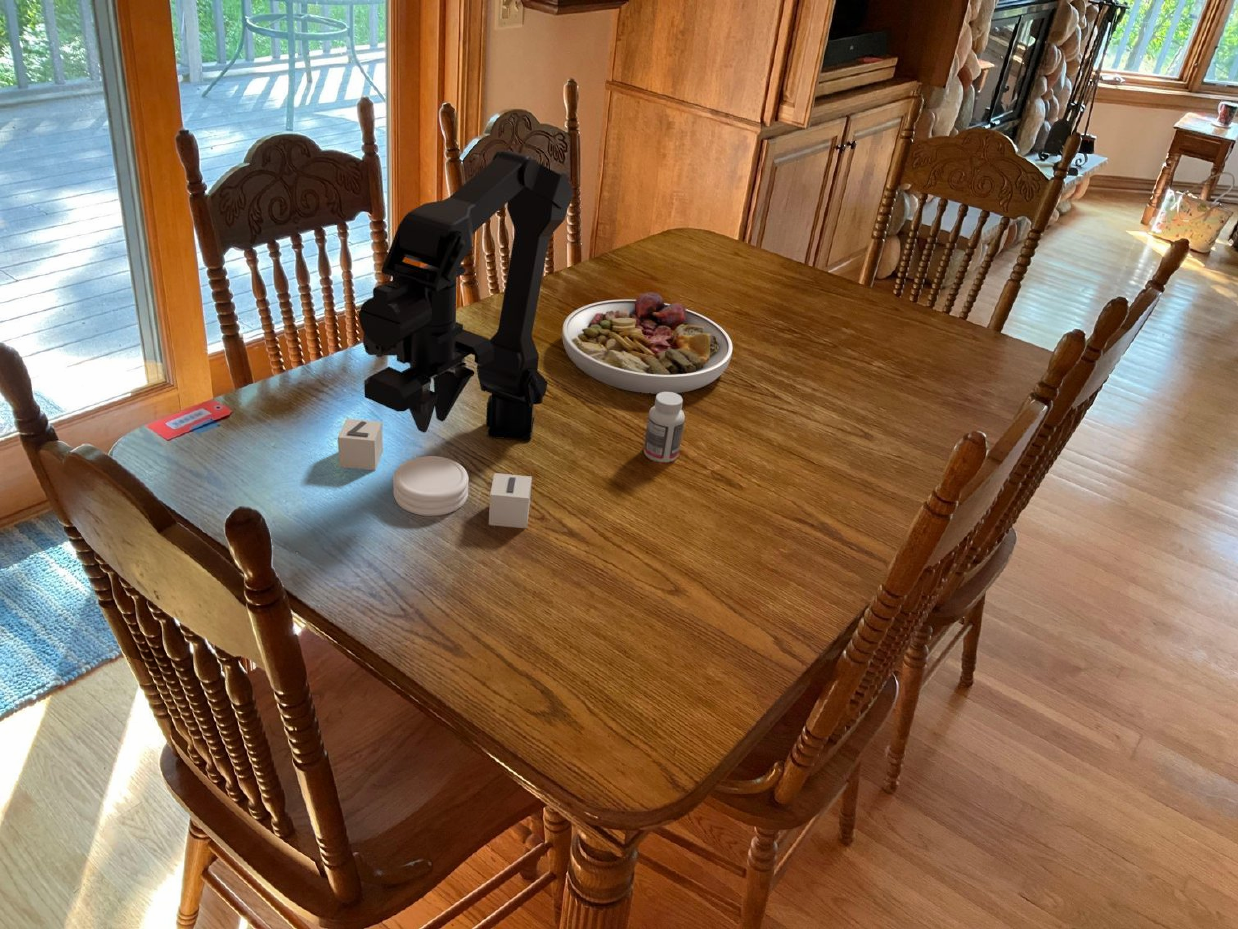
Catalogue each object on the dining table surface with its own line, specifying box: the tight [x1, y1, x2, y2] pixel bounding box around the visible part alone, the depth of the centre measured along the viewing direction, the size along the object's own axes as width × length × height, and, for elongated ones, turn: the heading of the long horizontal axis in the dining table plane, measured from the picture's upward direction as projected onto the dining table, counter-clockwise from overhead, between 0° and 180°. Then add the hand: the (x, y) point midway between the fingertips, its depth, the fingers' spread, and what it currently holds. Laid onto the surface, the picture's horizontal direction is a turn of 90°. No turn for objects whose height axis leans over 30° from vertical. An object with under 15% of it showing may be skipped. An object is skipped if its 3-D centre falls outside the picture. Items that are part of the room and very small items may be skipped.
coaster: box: [392, 455, 470, 517], centre depth 132 cm, size 10×10×4 cm
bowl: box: [561, 291, 733, 395], centre depth 172 cm, size 30×30×8 cm
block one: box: [488, 472, 533, 529], centre depth 130 cm, size 5×5×5 cm
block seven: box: [337, 418, 384, 471], centre depth 137 cm, size 5×5×5 cm
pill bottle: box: [643, 392, 686, 463], centre depth 145 cm, size 5×5×10 cm
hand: (431, 425), depth 127 cm, fingers open, 3 cm apart
